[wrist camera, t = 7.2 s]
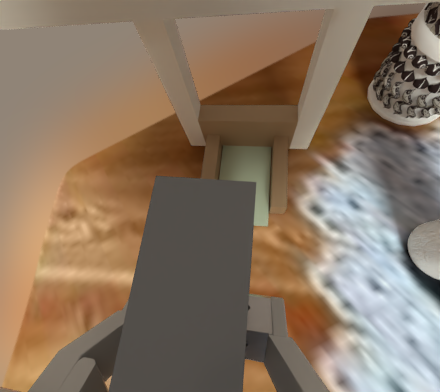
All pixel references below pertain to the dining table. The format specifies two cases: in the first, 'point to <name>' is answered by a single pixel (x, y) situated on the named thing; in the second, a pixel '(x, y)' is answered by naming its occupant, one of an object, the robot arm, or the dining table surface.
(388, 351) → the dining table surface
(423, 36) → the decorative candle
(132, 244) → the dining table surface
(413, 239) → the drinking glass
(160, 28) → the shelf
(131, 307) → the slate tile
